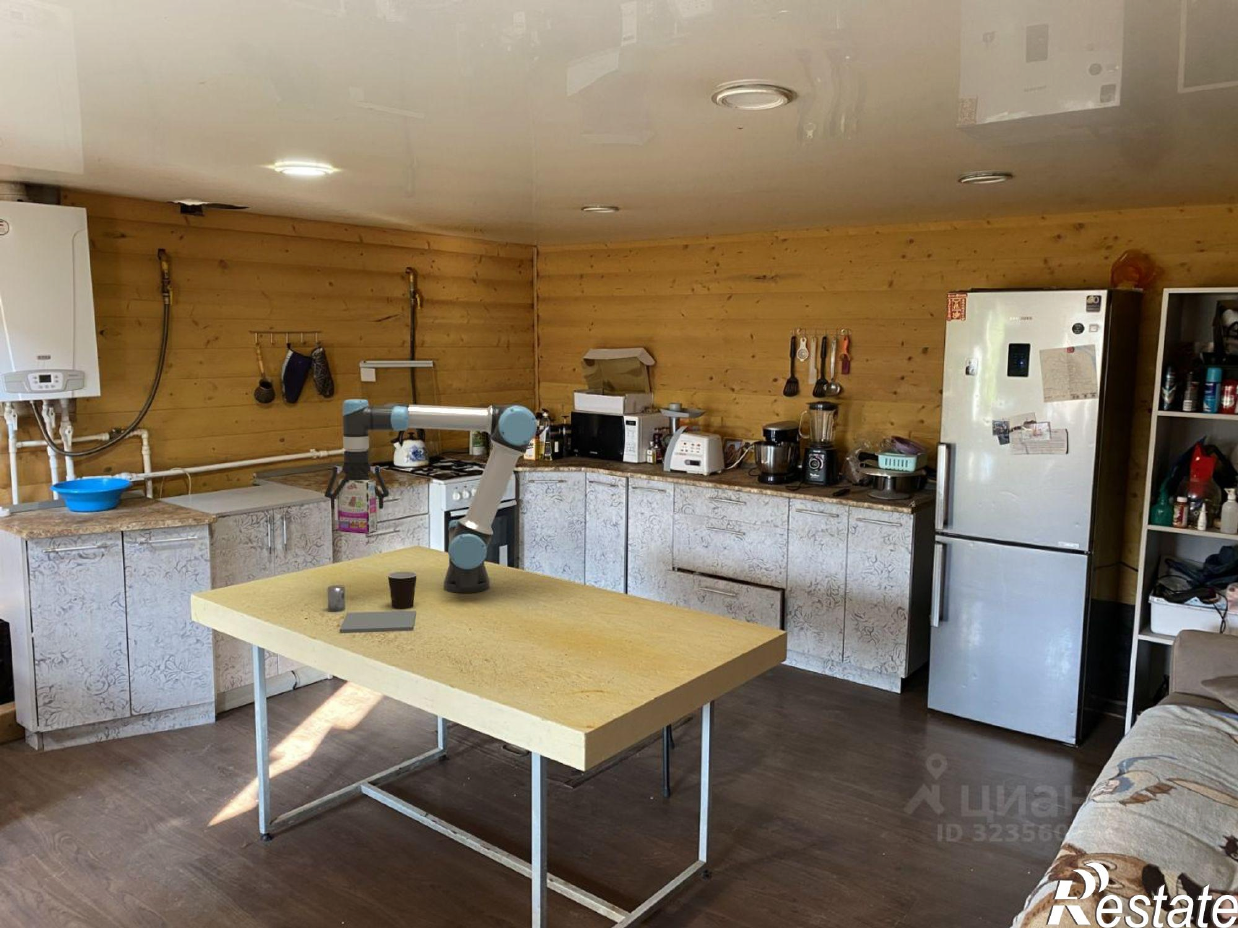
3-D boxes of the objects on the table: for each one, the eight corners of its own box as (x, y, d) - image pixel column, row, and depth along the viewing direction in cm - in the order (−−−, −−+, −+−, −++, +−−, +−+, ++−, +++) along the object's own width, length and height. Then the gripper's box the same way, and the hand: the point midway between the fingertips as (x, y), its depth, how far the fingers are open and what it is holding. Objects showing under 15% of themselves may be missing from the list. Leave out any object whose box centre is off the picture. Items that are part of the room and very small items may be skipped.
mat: (416, 613, 269) (416, 610, 269) (413, 630, 253) (412, 626, 253) (347, 615, 266) (347, 612, 266) (339, 632, 250) (339, 629, 250)
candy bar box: (378, 531, 279) (377, 479, 276) (368, 534, 274) (367, 481, 272) (347, 528, 282) (346, 477, 280) (337, 531, 277) (336, 479, 275)
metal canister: (346, 607, 275) (345, 584, 274) (344, 611, 270) (343, 589, 269) (329, 607, 274) (328, 585, 273) (326, 612, 269) (326, 589, 268)
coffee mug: (409, 611, 272) (409, 579, 270) (383, 609, 273) (382, 577, 272) (425, 600, 283) (425, 570, 282) (400, 598, 285) (399, 568, 283)
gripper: (397, 448, 280) (398, 516, 283) (318, 448, 277) (319, 517, 279) (395, 451, 273) (396, 521, 275) (313, 451, 269) (315, 521, 272)
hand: (357, 519), depth 277 cm, fingers closed on candy bar box, 12 cm apart
